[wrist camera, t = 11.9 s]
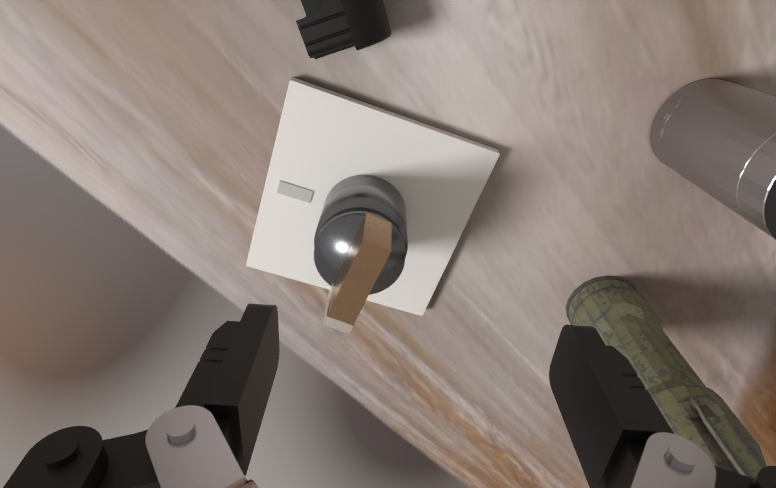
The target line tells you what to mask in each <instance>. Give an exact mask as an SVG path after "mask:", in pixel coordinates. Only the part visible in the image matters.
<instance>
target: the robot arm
mask: <svg viewBox="0 0 776 488" xmlns="http://www.w3.org/2000/svg"><path fill="white" fill-rule="evenodd" d="M650 140H651V146H652V149H653V151H654V153H655V155H656V156H657V157H658V159H659V160H660V161H661V162H663V163H664V164H666V165H667V166H669V167H670V168H672V169H673V170H674V171H676V172H677V173H679V174H680V175H681V176H683V177H684V178H686V179H687V180H689V181H690V182H692V183H693V184H695V185H696V186H697V187H699V188H700V189H702V190H703V191H705V192H706V193H708V194H709V195H711V196H712V197H714V198H715V199H717V200H718V201H719V202H721V203H722V204H724V205H725V206H727V207H728V208H730V209H731V210H733V211H734V212H736V213H737V214H739V215H740V216H741V217H743V218H744V219H746V220H747V221H749V222H750V223H752V224H754V225H755V226H757V227H758V228H759V229H761V230H762V231H764V232H765V233H767V234H768V235H770V236H771V237H773V238H774V239H776V96H773V95H770V94H767V93H763V92H760V91H757V90H754V89H751V88H748V87H745V86H741V85H738V84H735V83H731V82H728V81H725V80H720V79H703V80H699V81H696V82H692V83H690V84H688V85H686V86H684V87H682V88H681V89H679V90H678V91H677V92H675V93H674V94H673V95H672V96H670V97H669V98H668V99H667V100H666V101H665V103H664V104H663V105H662V107H661V108H660V109H659V111H658V113H657V115H656V117H655V119H654V121H653V124H652V128H651V136H650ZM278 361H279V330H278V311H277V306H276V305H262V304H248V305H247V307H246V310H245V312H244V314H243V316H242V319H241V321H240V322H235V321H227V322H226V323H224V324H223V325H222V326H221V327H220V328H218V329H217V330H216V331H215V332H214V333H213V334H212V336H211V338H210V340H209V342H208V344H207V346H206V350H204V352H203V354H202V357H201V358H200V362H198V364H197V366H196V368H195V370H194V372H193V374H192V376H191V378H190V380H189V382H188V384H187V386H186V388H185V390H184V392H183V394H182V396H181V398H180V400H179V402H178V404H177V405H176V407H175V408H174V409H171V410H169V411H167V412H165V413H164V414H162V415H161V416H159V417H158V418H157V419H156V420H155V421H154V422H153V423H152V425H151V426H150V428H149V429H148V430H145V431H142V432H139V433H135V434H131V435H126V436H121V437H116V438H112V439H107V440H102V437H101V436H100V434H99V432H98V431H96V430H95V429H93V428H90V427H85V426H74V427H68V428H65V429H61V430H59V431H56V432H54V433H52V434H50V435H48V436H47V437H45V438H43V439H42V440H40V441H39V442H38V443H36V444H35V445H34V446H33V447H32V448H31V449H30V451H29V452H28V453H27V454H26V455H25V457H24V459H23V460H22V461H21V463H20V464H19V466H18V467H17V468H16V470H15V471H14V473H13V474H12V476H11V477H10V479H9V480H8V481H7V483H6V484H5V486H4V487H3V488H258V486H257V485H256V483H255V482H254V481H253V480H249V481H247V479H246V478H245V476H244V475H246V473H247V470H248V466H249V463H250V459H251V456H252V453H253V449H254V446H255V442H256V439H257V435H258V432H259V429H260V425H261V422H262V418H263V415H264V412H265V408H266V405H267V401H268V398H269V395H270V391H271V388H272V385H273V381H274V378H275V375H276V371H277V367H278ZM637 375H638V374H637V373H636V371H635V370H634V368H633V366H632V365H631V363H630V361H629V360H628V359H627V358H626V357H625V356H624V355H623V354H621V353H620V352H619V351H618V350H617V349H616V348H615V347H613V346H607V345H605V343H604V341H603V340H602V338H601V336H600V335H599V333H598V331H597V330H596V328H595V327H593V326H580V325H565V326H564V327H563V328H562V330H561V333H560V336H559V340H558V343H557V346H556V349H555V352H554V355H553V358H552V362H551V365H550V371H549V379H550V385H551V389H552V391H553V394H554V397H555V399H556V402H557V404H558V407H559V409H560V412H561V415H562V417H563V420H564V422H565V425H566V427H567V430H568V433H569V435H570V438H571V440H572V443H573V445H574V448H575V451H576V453H577V456H578V458H579V461H580V463H581V466H582V469H583V471H584V474H585V476H586V479H587V482H588V484H589V487H590V488H776V466H767V467H764V468H762V469H761V470H760V471H759V472H758V473H757V475H756V476H755V478H751V477H748V476H745V475H741V474H738V473H735V472H732V471H729V470H726V469H723V468H719V467H717V466H714V464H713V462H712V461H711V459H710V458H709V457H708V455H707V454H706V453H705V452H704V451H703V450H702V449H701V448H699V447H698V446H697V445H696V444H694V443H693V442H691V441H689V440H687V439H686V438H683V437H681V436H679V435H676V434H674V432H673V431H672V429H671V428H670V426H669V424H668V423H667V421H666V420H665V418H664V416H663V415H662V413H661V411H660V410H659V408H658V407H657V405H656V403H655V402H654V400H653V399H652V397H651V395H650V394H649V392H648V390H645V386H644V384H643V382H642V381H641V379H640V378H639V377H637Z"/></svg>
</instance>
